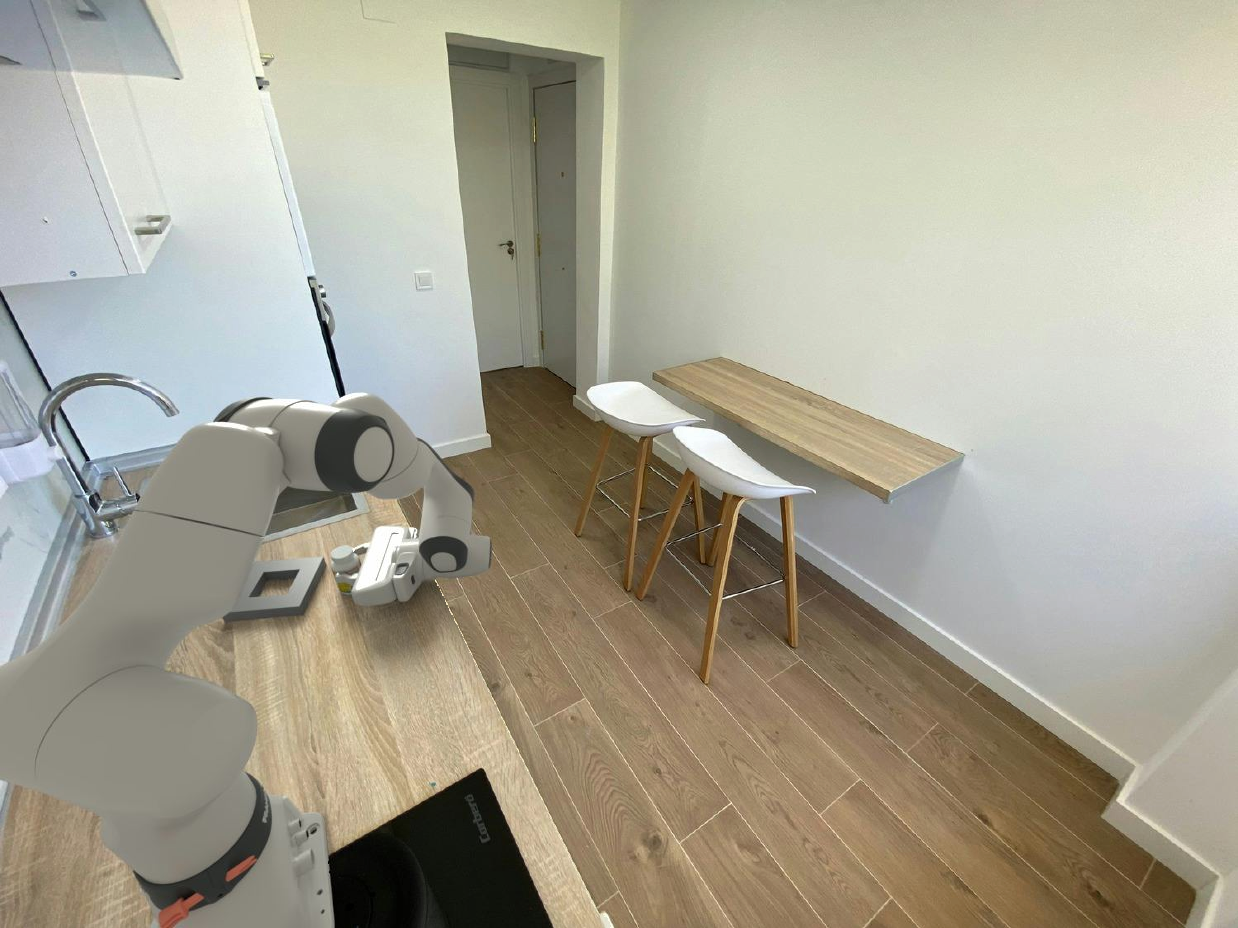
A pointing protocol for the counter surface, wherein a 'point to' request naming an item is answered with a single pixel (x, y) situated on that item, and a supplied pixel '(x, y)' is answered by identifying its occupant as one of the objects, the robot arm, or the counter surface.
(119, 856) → the robot arm
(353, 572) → the supplement bottle
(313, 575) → the frame
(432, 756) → the counter surface
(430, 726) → the counter surface
